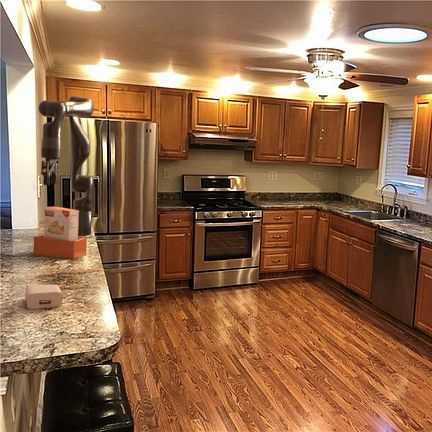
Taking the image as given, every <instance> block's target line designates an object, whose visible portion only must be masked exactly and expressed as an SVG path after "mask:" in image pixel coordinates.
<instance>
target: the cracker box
mask: <svg viewBox="0 0 432 432" xmlns="http://www.w3.org/2000/svg"><path fill="white" fill-rule="evenodd" d="M78 218H79V211H78V210H73V208H72V209H71V208H66V207H60V206H46V207H44V223H43V224H44V225H43V226H44V227H43V234H44V238H54V239H63V240H72V241H74V240H78Z"/></svg>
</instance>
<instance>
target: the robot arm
mask: <svg viewBox="0 0 432 432" xmlns="http://www.w3.org/2000/svg"><path fill="white" fill-rule="evenodd" d="M37 110H38V113H39V114H40V115H41V116H42V117H45V118H51V119H52V118H53V120H52V121H50V122H45V123H43V124H42V134H41V135H42V136H41V137H42V138H41V145H40V146H41V147H40V148H41V149H40V157H41V158H42V159H45V160H41V168H40V169H41V170H40V175H42V176H43V177H42V178H43V180H42V181H43V182H42V184H43V186H49V185H50V184H51V185H57V176H58V175H59V174H60V161H59V160H60V159H61V152H62V151H61V150H62V142H61V139H62V138H61V135H62V126H63V122H64V119H65V117H68V120H69V121H68V122H69V130H70V131H69V133H70V134H69V135H70V141H69V143H70V158H71V159H70V160H71V161H70V162H71V173H70V174H71V175H70V176H71V177H70V180H71V181H70V187H71V192H73V193H79V194H80V193H81V194H85V195H84V196H81V197H79V198H75V199H74V200H73V206H72V210H78V211H79V218H78V237H87V239H89V238H91V237H92V225H93V223H92V221H93V220H92V218H93V217H92V216H93V215H92V214H93V196H94V195H93V194H94V185H95V183H94V182H95V180H94V177H93V176H91V175H80V174H79V172H80V170H81V167H82V166H83V165H84V163H85V162H86V161H87V159H88V158H89V156H90V154H91V140H90V138H89V136H88V135H87V133H86V131H85V130H84V129H83V127H82V125H81V122H80V119H79V117H84V118H89V117H91V116H92V115H93V114H94V110H95V105H94V102H93V100H92V99H90V98H86V97H82V96H81V97H80V96H75V95H72V96H70V97H69V98H68V100H42V101H40V102H39V104H38V107H37Z"/></svg>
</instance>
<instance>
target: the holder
mask: <svg viewBox="0 0 432 432" xmlns="http://www.w3.org/2000/svg"><path fill="white" fill-rule="evenodd" d="M87 243H88V238H87V237H78V240H74V241H72V240H63V239H54V238H44V233H43V234H39V235H35V236H33V243H32V244H33V249H32V255H33V256H41V257H43V256H44V257H51V258H61V259H70V260H75V259H78V258H81V257H84V256H85V255H87V245H88V244H87Z"/></svg>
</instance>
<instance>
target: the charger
mask: <svg viewBox="0 0 432 432" xmlns="http://www.w3.org/2000/svg"><path fill="white" fill-rule="evenodd" d="M25 302H26V303H25V304H26V307H27V308H28V309H30V310H38V309H51V308H59V307H60V306H62V305H63V292H62V290H61V288H60V286H59V284H52V283H51V284H34V285H28V286H26V287H25Z"/></svg>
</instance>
